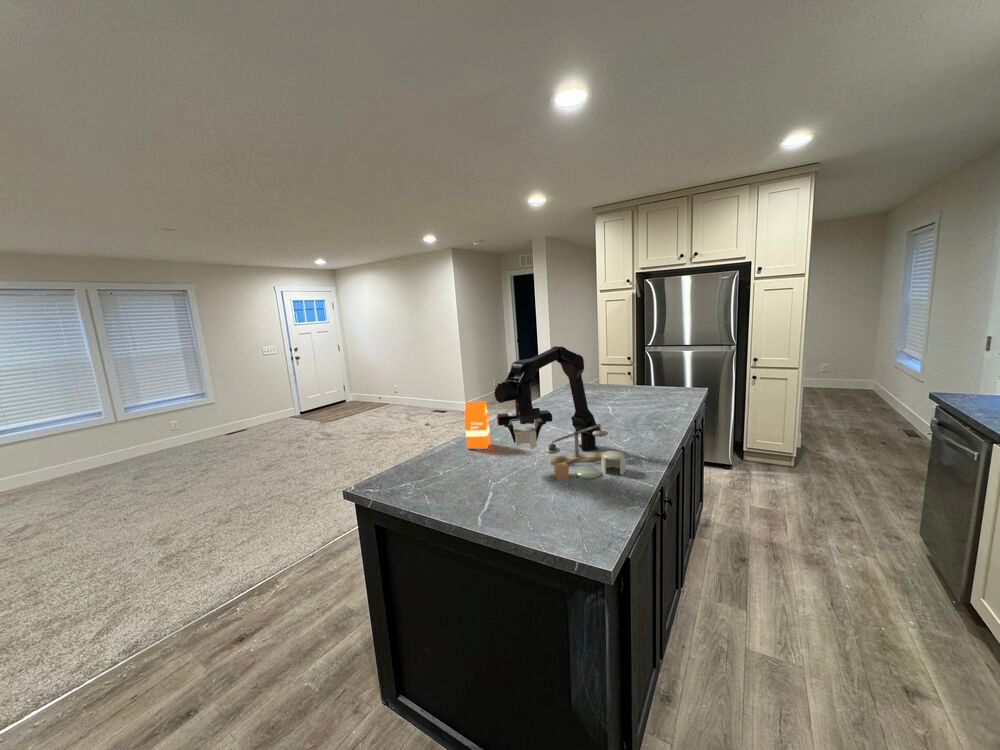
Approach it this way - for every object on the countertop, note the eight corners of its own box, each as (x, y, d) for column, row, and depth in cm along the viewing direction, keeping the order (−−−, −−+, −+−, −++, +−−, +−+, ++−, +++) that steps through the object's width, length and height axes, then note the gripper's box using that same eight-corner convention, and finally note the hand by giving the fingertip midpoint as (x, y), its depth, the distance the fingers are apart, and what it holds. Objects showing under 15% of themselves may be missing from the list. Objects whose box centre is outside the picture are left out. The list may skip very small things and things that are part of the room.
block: (554, 474, 138) (554, 463, 137) (565, 473, 138) (565, 462, 138) (557, 479, 134) (556, 467, 133) (568, 478, 134) (568, 466, 134)
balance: (547, 465, 146) (545, 430, 144) (544, 459, 152) (542, 426, 150) (610, 459, 148) (610, 425, 146) (605, 454, 153) (604, 421, 151)
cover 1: (514, 443, 143) (513, 427, 142) (533, 442, 143) (533, 425, 142) (516, 450, 136) (516, 433, 135) (537, 448, 136) (537, 431, 135)
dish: (572, 469, 141) (572, 467, 140) (595, 467, 141) (595, 465, 141) (578, 479, 132) (578, 477, 132) (604, 477, 133) (604, 475, 133)
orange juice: (470, 444, 176) (467, 399, 173) (490, 444, 174) (487, 399, 171) (467, 450, 168) (463, 404, 165) (487, 450, 167) (484, 403, 164)
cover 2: (599, 468, 141) (599, 451, 140) (619, 466, 141) (619, 450, 140) (606, 476, 133) (606, 459, 132) (627, 474, 134) (627, 457, 133)
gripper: (498, 404, 128) (501, 451, 131) (555, 400, 130) (557, 446, 132) (495, 398, 139) (497, 441, 142) (548, 394, 141) (549, 436, 143)
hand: (525, 441), depth 139 cm, fingers closed on cover 1, 7 cm apart
